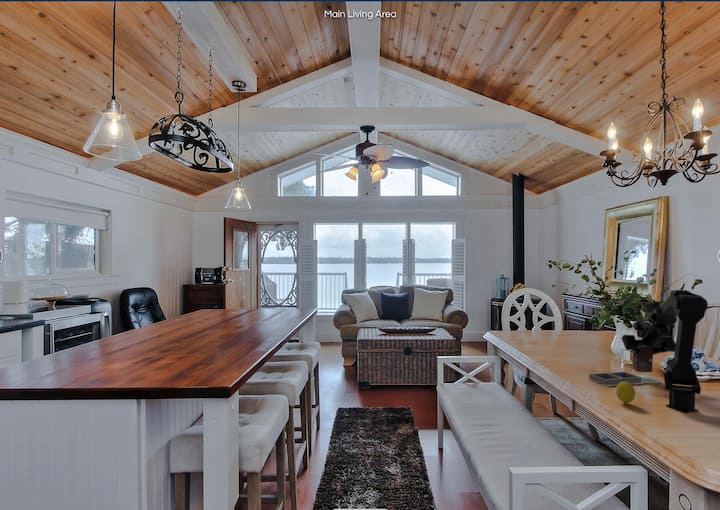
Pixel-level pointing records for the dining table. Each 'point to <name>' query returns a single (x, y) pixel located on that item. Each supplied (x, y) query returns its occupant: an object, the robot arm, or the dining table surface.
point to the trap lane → (621, 378)
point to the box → (643, 359)
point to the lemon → (625, 392)
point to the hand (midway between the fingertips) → (640, 354)
